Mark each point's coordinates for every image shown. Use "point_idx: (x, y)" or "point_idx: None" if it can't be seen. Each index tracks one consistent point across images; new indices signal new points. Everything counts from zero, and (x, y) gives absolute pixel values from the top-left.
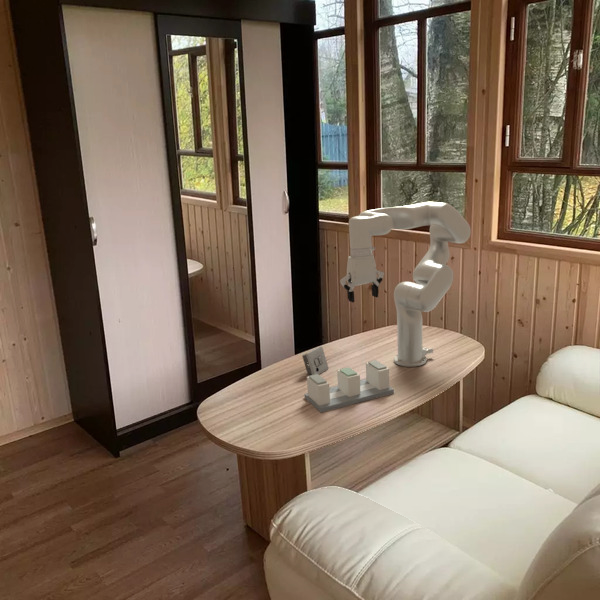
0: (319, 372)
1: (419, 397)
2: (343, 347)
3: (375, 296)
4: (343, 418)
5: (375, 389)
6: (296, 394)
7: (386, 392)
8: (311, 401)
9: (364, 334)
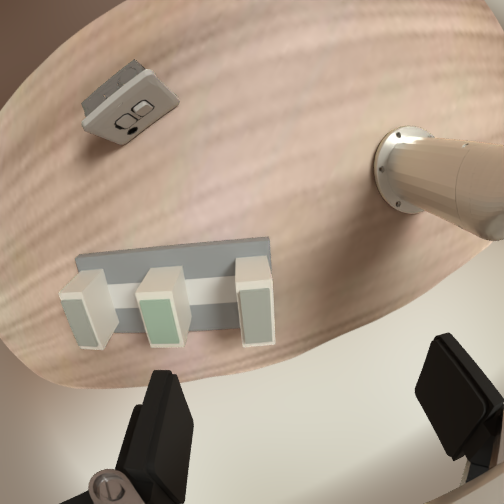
0: (142, 129)
1: (308, 350)
2: None
3: (418, 387)
4: (138, 361)
5: (234, 310)
6: (66, 229)
7: None
8: None
9: None
